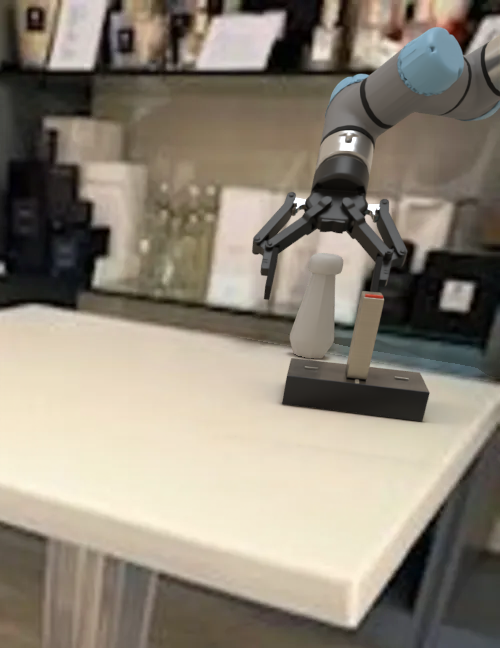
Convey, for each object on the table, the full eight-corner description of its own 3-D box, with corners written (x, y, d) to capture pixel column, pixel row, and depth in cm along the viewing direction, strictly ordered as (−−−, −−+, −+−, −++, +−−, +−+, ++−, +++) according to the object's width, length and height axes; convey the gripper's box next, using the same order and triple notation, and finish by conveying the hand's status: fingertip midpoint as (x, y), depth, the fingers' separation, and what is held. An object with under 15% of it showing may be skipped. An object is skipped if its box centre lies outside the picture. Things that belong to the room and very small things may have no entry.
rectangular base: (413, 399, 98) (420, 370, 96) (422, 421, 88) (430, 390, 87) (286, 384, 101) (291, 356, 100) (281, 404, 91) (287, 373, 90)
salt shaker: (294, 358, 116) (313, 254, 111) (280, 350, 122) (298, 250, 116) (337, 360, 117) (358, 257, 111) (321, 352, 122) (340, 253, 116)
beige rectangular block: (345, 366, 96) (362, 288, 93) (364, 369, 96) (382, 290, 92) (346, 377, 91) (364, 294, 87) (366, 380, 90) (385, 296, 87)
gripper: (254, 147, 123) (226, 269, 116) (442, 159, 117) (423, 288, 110) (251, 189, 129) (224, 306, 123) (428, 202, 124) (410, 326, 117)
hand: (318, 298), depth 117 cm, fingers open, 13 cm apart
